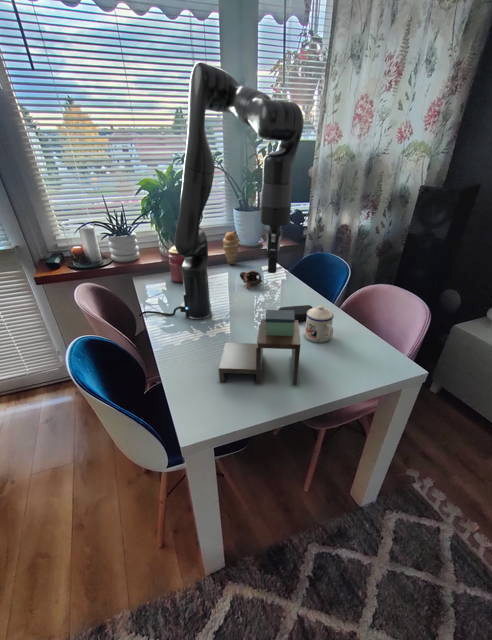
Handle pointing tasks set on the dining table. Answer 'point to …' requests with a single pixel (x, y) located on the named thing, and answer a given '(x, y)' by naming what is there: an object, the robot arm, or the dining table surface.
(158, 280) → the dining table surface
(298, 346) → the shelf riser
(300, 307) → the carrying case
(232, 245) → the cat ice cream
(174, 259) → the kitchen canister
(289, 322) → the box
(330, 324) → the teacup with lid
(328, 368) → the dining table surface
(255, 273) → the pottery mug
